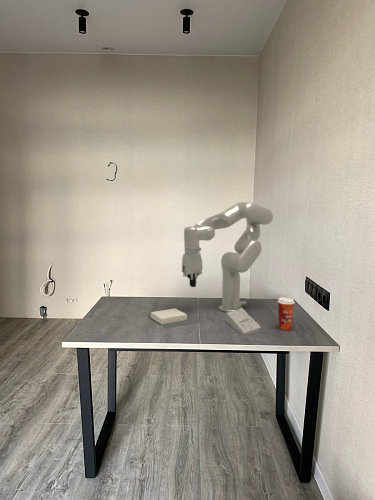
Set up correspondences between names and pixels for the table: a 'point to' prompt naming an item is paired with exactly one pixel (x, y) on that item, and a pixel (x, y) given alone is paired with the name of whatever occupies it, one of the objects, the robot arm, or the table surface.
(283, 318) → the paper cup
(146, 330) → the table surface
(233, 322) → the ramp
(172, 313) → the tile
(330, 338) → the table surface
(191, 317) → the mat
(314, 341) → the table surface
